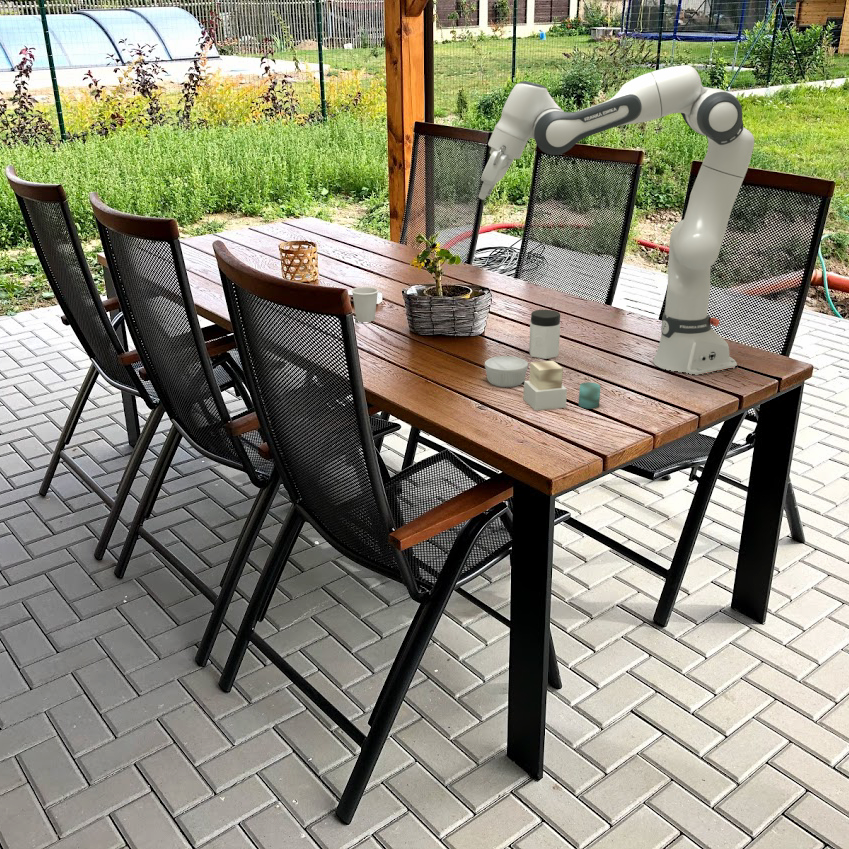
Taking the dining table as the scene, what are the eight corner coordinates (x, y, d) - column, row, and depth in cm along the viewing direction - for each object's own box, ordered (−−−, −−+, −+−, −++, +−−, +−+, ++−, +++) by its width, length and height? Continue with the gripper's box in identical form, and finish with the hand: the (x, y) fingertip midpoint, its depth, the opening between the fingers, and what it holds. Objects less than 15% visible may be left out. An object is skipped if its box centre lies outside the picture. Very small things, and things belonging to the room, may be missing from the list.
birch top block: (551, 379, 230) (553, 360, 228) (561, 387, 225) (562, 368, 223) (529, 381, 228) (530, 362, 226) (538, 389, 223) (539, 370, 221)
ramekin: (475, 382, 242) (476, 363, 240) (499, 371, 250) (500, 352, 248) (512, 392, 235) (512, 372, 233) (535, 380, 243) (536, 361, 241)
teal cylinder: (593, 400, 230) (595, 381, 228) (602, 407, 226) (604, 388, 224) (575, 402, 229) (576, 383, 227) (583, 409, 224) (585, 390, 222)
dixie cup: (377, 324, 288) (377, 293, 285) (351, 324, 289) (350, 293, 285) (379, 317, 296) (379, 286, 292) (353, 317, 296) (352, 286, 292)
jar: (523, 355, 262) (525, 314, 257) (534, 347, 268) (536, 307, 263) (552, 360, 258) (555, 319, 253) (563, 352, 264) (566, 312, 259)
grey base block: (553, 396, 233) (554, 377, 231) (565, 408, 226) (567, 388, 224) (523, 399, 231) (524, 380, 229) (535, 411, 224) (536, 391, 222)
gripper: (513, 152, 222) (489, 206, 227) (521, 148, 241) (499, 198, 246) (489, 141, 222) (466, 195, 228) (499, 138, 241) (478, 188, 247)
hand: (483, 196), depth 237 cm, fingers open, 8 cm apart
